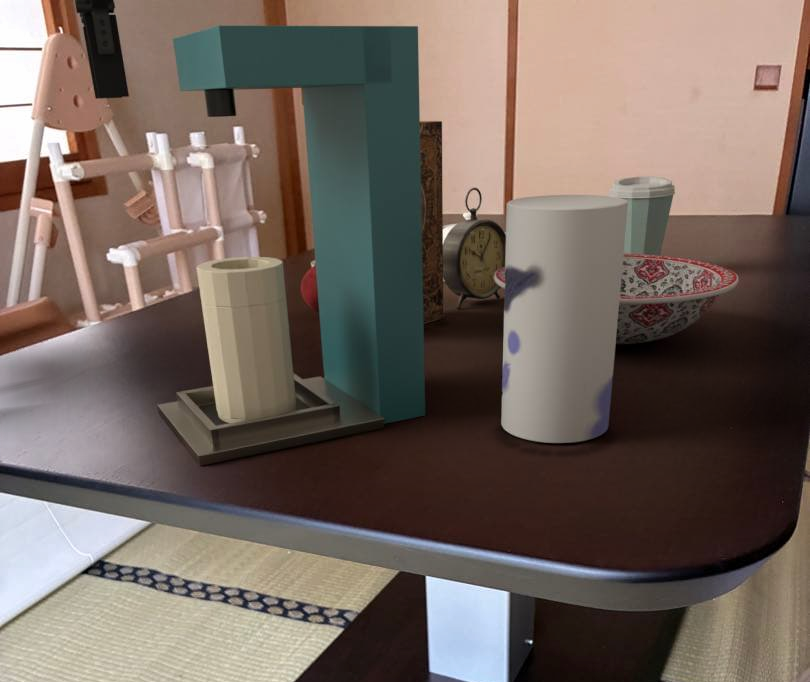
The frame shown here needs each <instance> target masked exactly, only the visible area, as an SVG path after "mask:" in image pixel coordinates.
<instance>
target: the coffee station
mask: <svg viewBox="0 0 810 682" xmlns="http://www.w3.org/2000/svg"><path fill="white" fill-rule="evenodd" d="M172 42H173V49H174V56H175V64H176V71H177V79H178V86H179V91H180V92H204V93H203V94H204V101H205V109H206V116H207V117H208V118H222V117H223V118H224V117H225V118H226V117H236V116H237V107H236V106H237V105H236V98H235V91H237V90H240V91H241V90H273V89H279V90H280V89H301V90H302V91H301V92H302V104H303V105H302V106H303V117H304V118H303V119H304V129H305V130H304V131H305V145H306V156H307V157H306V158H307V169H308V170H307V171H308V182H309V196H310V206H311V207H310V209H311V221H312V222H311V223H312V235H313V246H314V247H313V249H314V260H315V263H316V276H317V289H318V302H319V314H318V315H319V326H320V327H319V328H320V339H321V352H322V353H321V355H322V367H323V376H321V375H320V376H315V377H309V378H308V377H307V378H302V377H301V376H299V375H297V374H296V373H295V372H293V375H294V386H295V396H296V411H292V412H287V413H282V414H276V415H271V416H266V417H260V418H255V419H250V420H245V421H239V422H234V423H227V422H224V421H222V420H221V419H220V418H219V417H218V411H217V409H216V402H215V395H214V388H213V385H211V386H205V387H198V388H194V389H193V388H192V389H188V390H182V391H177V392H176V394H175V395H176V400H177V401H171V402H166V403H160V404H157V412H158V415H159V416H160V418H162V420H163V421H164V422H165V424H166V425H167V426H168V427H169V428H170V430H171V431H172V432H173V434H174V435H175V436H176V437H177V439H178V440H179V442H181V444H182V445H183V446H184V448H185V449H186V450H187V451H188V453H189V454H190V455H191V457H192V458H193V459H194V460H195V461H196V463H197V464H198V465H199V467H204V466H208V465H212V464H218V463H221V462H227V461H231V460H237V459H241V458H245V457H246V458H247V457H251V456H256V455H260V454H265V453H270V452H275V451H279V450H280V451H281V450H284V449H290V448H295V447H299V446H305V445H308V444H314V443H318V442H319V443H320V442H323V441H327V440H332V439H338V438H342V437H348V436H351V435H357V434H361V433H367V432H372V431H375V430H381V429H384V428H385V424H390V423H391V424H392V423H396V422H400V421H405V420H409V419H410V420H411V419H414V418H420V417H425V416H426V384H425V382H426V381H425V379H426V378H425V374H426V373H425V332H424V331H425V326H424V325H425V324H424V321H423V268H422V215H421V162H420V121H421V120H420V119H421V115H420V111H421V110H420V67H419V66H420V62H419V56H420V55H419V26H418V25H216V26H213V27H209V28H206V29H205V28H204V29H202V30H199V31H195V32H192V33H188V34H185V35H181V36H178V37H174V38H172Z"/></svg>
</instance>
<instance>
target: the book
mask: <svg viewBox="0 0 810 682" xmlns="http://www.w3.org/2000/svg"><path fill="white" fill-rule="evenodd" d="M420 162H421V215H422V268H423V321H424V325H426V324H429V323H432V322H436V321H439V320H442V319H444V281H443V226H444V224H443V223H444V222H443V221H444V220H443V219H444V218H443V214H444V213H443V212H444V209H443V208H444V207H443V202H444V201H443V197H444V196H443V121H440V120H425V121H423V120H422V121H421V120H420Z"/></svg>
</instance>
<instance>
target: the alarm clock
mask: <svg viewBox="0 0 810 682" xmlns="http://www.w3.org/2000/svg"><path fill="white" fill-rule="evenodd" d="M473 191H476V192H477V193H478V197H479V203H478V205H477V207H472V208H470V207H469V204H468V199H469V196H470V194H471V192H473ZM482 200H483V199H482V193H481V191H480V189H479V188H477V187H471V188H469V190H468V191H467V193H466V195H465V200H464V204H465V207H466V209H467V212H470V213H471V219H470V220H466V219H464V220H461V221H459V222H457V223H455V224H456V225H455V226H454V227H453V228H452V229H451V230H450V232H449V233H448V234H447V236H446V238H445V240H444V243H443V278H444V281H445V285H446V286H447V288H448V289H449V290H450V291H451V292H452V293H454V294H455V295H456V296H459V299H458V303H457V305H456V310H460V309H461V306H462V304H463V303H464V301H465V300H466V299H467V298H469V299H470V298H471V299H477V300H484V299H488V298H490V297H492V296H493V295H494V296H495V298H496V299H497V300H500V299H501V295H500V294H499V293H498V291H499V290H500V289H501V288H502V287H501V286H499V285H498V284H497V283H496V282H495V280H494V275H495V272H496V271H497V270H498V269H500V268H502V267H504V266H505V254H506V235H505V233H504V232H505V231H504V229H503V227H502V226H501V225H500V224H498V223H497V222H496V221H494V220H491V219H478V216H476V213H478V212H477V211H478V210H480V207H481V205H482ZM444 281H443V282H444Z"/></svg>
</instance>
